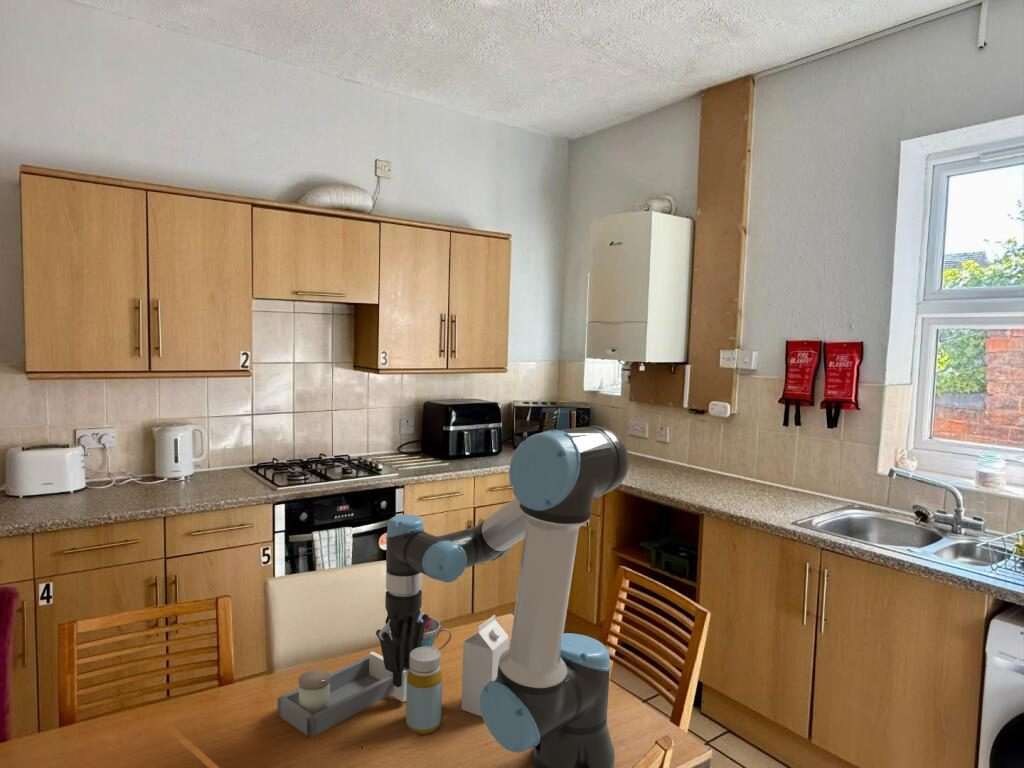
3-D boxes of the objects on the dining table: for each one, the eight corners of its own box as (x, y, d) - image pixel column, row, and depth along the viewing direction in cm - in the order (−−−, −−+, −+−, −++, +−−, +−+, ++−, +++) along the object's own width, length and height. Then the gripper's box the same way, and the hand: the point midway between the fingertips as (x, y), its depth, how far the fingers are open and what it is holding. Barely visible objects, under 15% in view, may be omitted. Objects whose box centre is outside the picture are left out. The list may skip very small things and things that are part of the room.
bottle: (434, 738, 125) (436, 664, 124) (400, 732, 127) (402, 659, 126) (445, 718, 132) (447, 647, 131) (413, 712, 134) (414, 643, 133)
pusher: (420, 696, 139) (421, 672, 138) (410, 701, 136) (411, 677, 136) (375, 672, 148) (376, 649, 148) (365, 677, 146) (365, 654, 145)
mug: (399, 679, 146) (400, 634, 146) (399, 659, 155) (400, 616, 155) (452, 676, 148) (453, 632, 148) (449, 656, 158) (450, 614, 157)
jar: (336, 714, 131) (336, 677, 130) (309, 728, 126) (310, 689, 125) (318, 703, 134) (318, 666, 134) (291, 716, 130) (292, 678, 129)
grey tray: (407, 688, 143) (408, 669, 142) (310, 741, 123) (310, 720, 123) (374, 670, 150) (374, 652, 149) (277, 718, 130) (277, 697, 130)
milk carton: (461, 710, 135) (463, 623, 134) (478, 694, 141) (481, 610, 140) (490, 720, 132) (493, 631, 130) (506, 703, 138) (509, 618, 137)
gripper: (414, 576, 141) (411, 679, 143) (367, 594, 131) (365, 705, 133) (438, 585, 137) (435, 692, 138) (392, 604, 126) (389, 719, 128)
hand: (401, 698), depth 136 cm, fingers closed
